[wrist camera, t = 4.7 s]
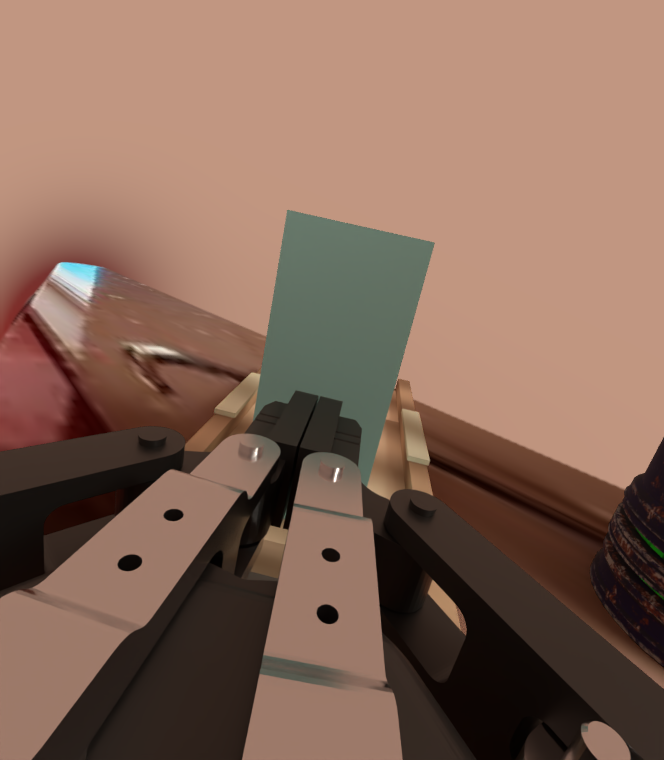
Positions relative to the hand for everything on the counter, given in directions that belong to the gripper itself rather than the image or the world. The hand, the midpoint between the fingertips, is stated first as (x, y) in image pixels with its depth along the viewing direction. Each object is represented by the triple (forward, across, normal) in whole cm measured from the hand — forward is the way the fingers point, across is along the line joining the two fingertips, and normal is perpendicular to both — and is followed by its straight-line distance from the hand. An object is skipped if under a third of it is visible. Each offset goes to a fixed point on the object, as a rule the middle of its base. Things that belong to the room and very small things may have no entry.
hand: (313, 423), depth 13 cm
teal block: (+5, 0, +6) cm, 8 cm away
